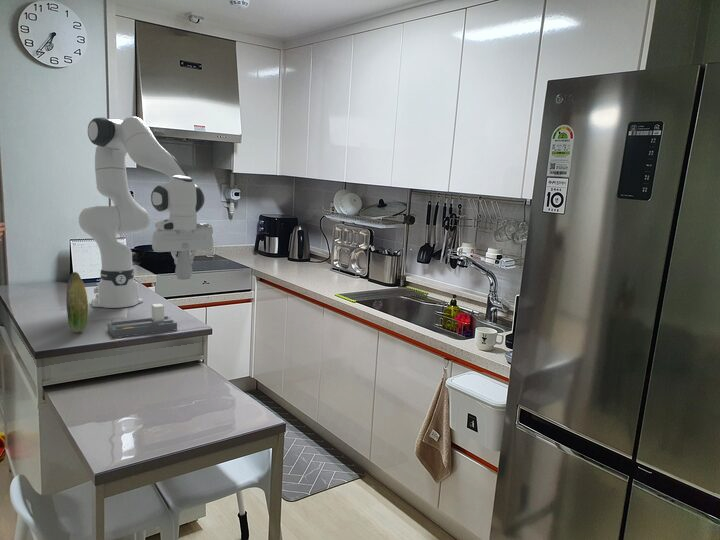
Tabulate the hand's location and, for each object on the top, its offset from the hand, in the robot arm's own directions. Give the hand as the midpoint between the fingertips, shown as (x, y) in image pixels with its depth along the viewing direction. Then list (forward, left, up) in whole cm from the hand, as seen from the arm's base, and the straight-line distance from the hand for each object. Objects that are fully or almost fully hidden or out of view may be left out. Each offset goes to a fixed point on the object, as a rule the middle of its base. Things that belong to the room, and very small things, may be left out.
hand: (183, 263), depth 185 cm
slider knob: (0, -9, -19) cm, 21 cm away
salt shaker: (0, 0, -5) cm, 5 cm away
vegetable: (-6, -33, -22) cm, 40 cm away
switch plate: (0, -14, -22) cm, 26 cm away
